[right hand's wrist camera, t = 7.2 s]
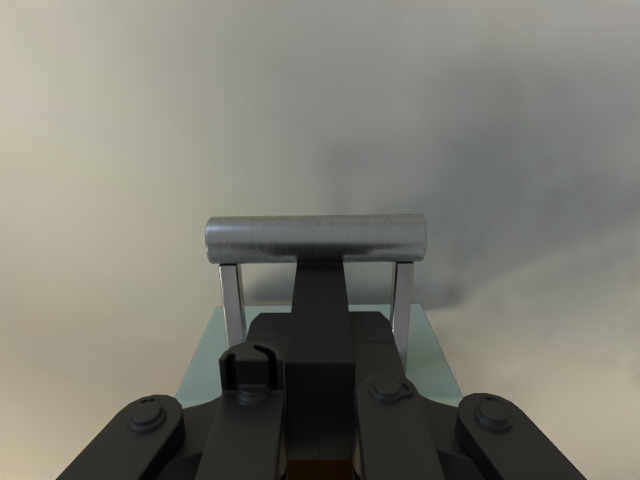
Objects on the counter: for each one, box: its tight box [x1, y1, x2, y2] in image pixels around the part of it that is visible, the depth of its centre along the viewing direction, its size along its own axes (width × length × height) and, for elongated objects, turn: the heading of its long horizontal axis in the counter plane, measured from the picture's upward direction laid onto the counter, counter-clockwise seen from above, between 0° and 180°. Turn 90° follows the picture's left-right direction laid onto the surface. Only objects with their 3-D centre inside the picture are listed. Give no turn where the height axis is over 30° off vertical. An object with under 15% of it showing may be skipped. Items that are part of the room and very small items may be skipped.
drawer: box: [175, 214, 463, 480], centre depth 17 cm, size 19×10×6 cm, turn 1°
